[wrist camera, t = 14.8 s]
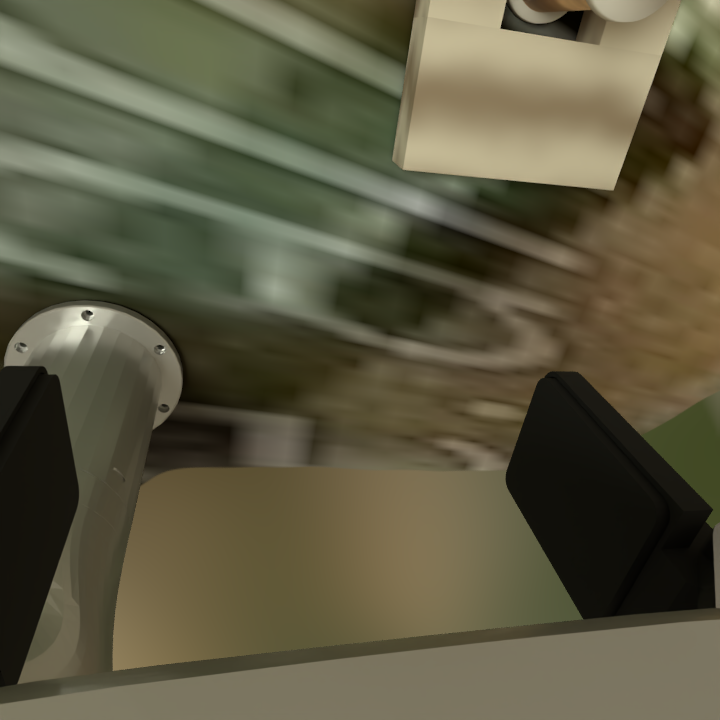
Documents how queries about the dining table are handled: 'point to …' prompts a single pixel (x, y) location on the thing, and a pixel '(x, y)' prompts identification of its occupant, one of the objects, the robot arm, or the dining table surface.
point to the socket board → (524, 95)
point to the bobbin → (611, 3)
